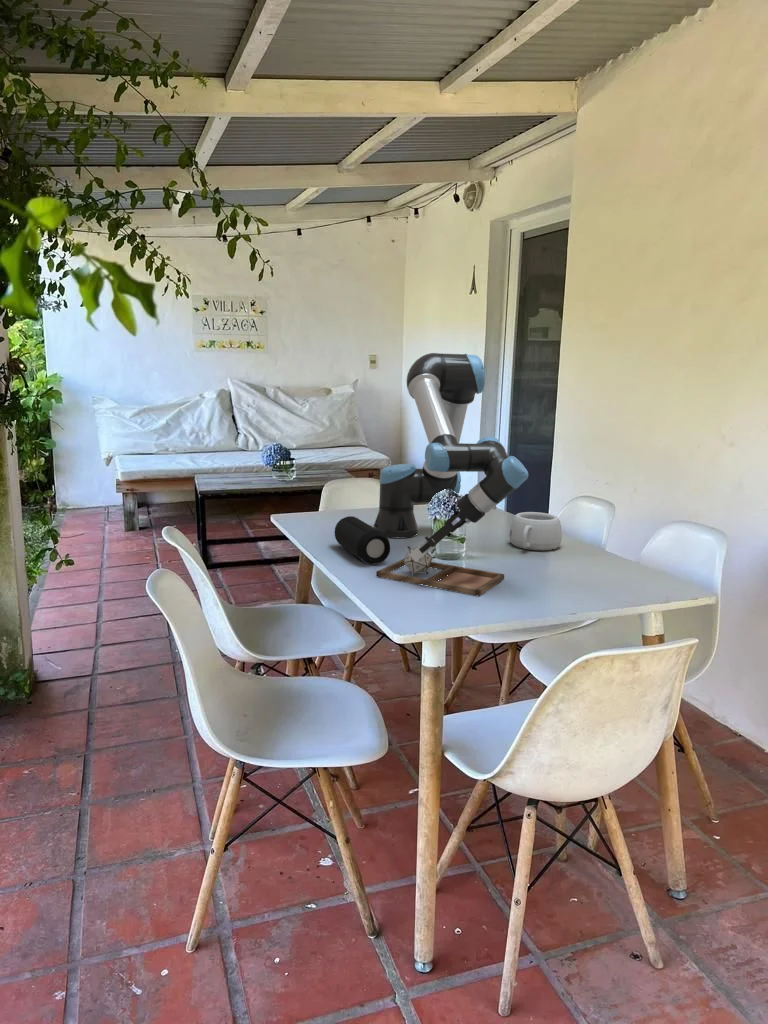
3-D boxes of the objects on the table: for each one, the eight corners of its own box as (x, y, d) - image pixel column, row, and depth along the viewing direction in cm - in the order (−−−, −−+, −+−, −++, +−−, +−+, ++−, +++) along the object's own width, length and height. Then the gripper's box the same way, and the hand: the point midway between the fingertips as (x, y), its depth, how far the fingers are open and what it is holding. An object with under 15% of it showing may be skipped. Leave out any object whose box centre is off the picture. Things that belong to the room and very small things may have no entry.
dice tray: (376, 576, 204) (376, 571, 204) (406, 562, 220) (406, 557, 219) (479, 596, 190) (479, 590, 190) (503, 579, 206) (504, 574, 205)
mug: (517, 537, 257) (519, 508, 255) (566, 544, 249) (569, 514, 247) (497, 550, 238) (499, 519, 236) (549, 558, 230) (551, 526, 228)
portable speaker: (392, 565, 216) (393, 531, 215) (360, 568, 213) (361, 533, 211) (361, 544, 240) (361, 513, 238) (331, 546, 236) (332, 515, 234)
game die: (423, 588, 208) (437, 565, 201) (394, 577, 207) (408, 554, 200) (426, 565, 215) (440, 543, 208) (398, 554, 213) (412, 531, 207)
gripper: (476, 523, 187) (416, 574, 194) (494, 506, 210) (439, 552, 218) (456, 500, 187) (397, 552, 195) (476, 485, 211) (423, 532, 218)
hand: (419, 552), depth 206 cm, fingers open, 13 cm apart
